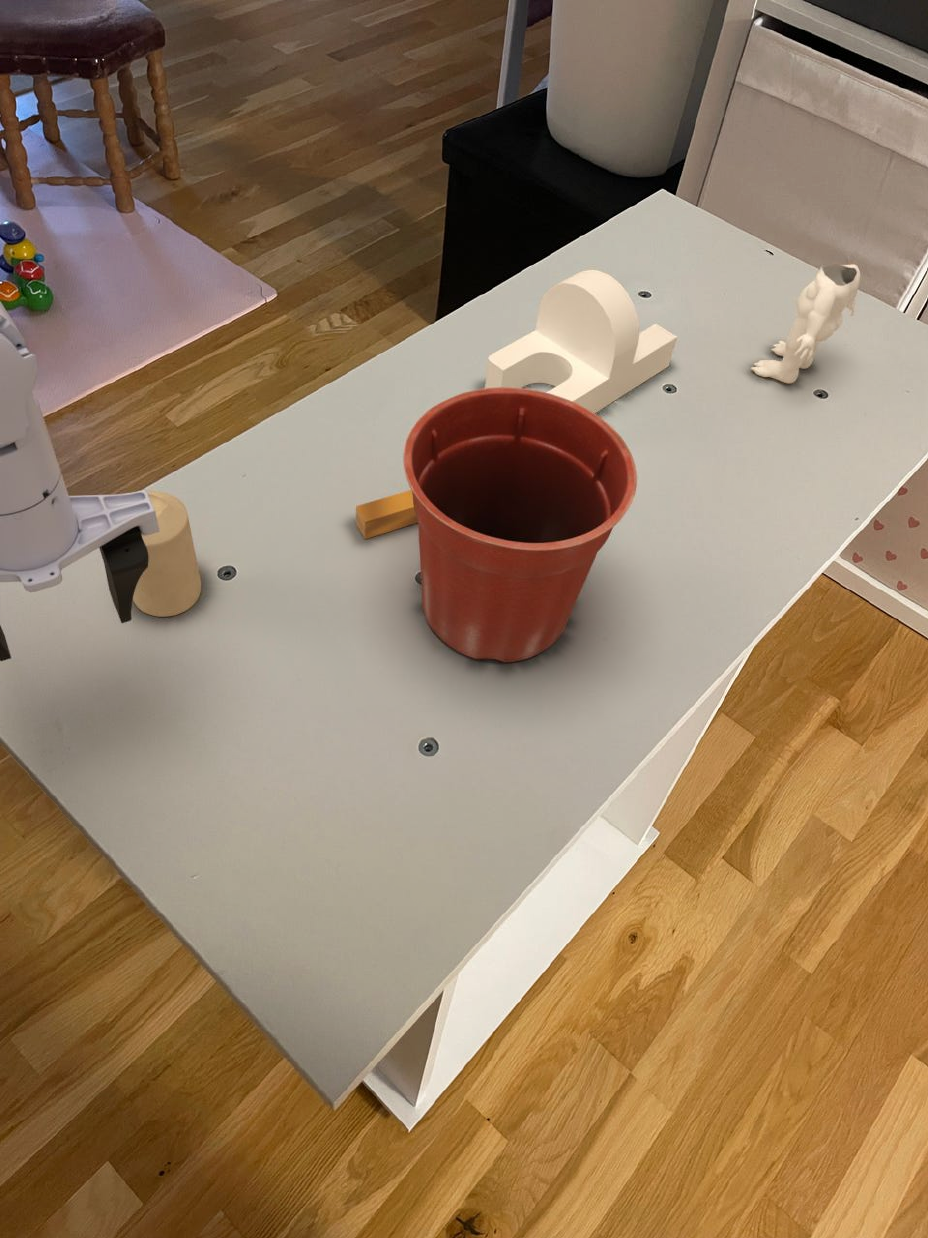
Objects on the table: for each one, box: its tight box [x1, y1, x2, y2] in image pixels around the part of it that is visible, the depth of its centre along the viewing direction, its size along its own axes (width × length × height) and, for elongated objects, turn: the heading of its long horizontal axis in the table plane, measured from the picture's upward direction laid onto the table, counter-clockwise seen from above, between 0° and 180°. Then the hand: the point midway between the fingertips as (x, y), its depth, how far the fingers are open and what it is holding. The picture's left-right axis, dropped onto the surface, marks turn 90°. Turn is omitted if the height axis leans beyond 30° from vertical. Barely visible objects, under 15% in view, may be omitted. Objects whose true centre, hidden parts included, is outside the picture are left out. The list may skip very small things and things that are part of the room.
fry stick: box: [355, 489, 418, 540], centre depth 87 cm, size 14×2×2 cm, turn 117°
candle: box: [132, 490, 202, 618], centre depth 76 cm, size 6×6×10 cm
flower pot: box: [402, 387, 638, 663], centre depth 76 cm, size 16×16×16 cm
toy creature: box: [750, 263, 861, 384], centre depth 100 cm, size 12×6×12 cm, turn 141°
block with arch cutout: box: [484, 269, 678, 414], centre depth 97 cm, size 18×10×11 cm, turn 134°
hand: (63, 629), depth 65 cm, fingers open, 7 cm apart
